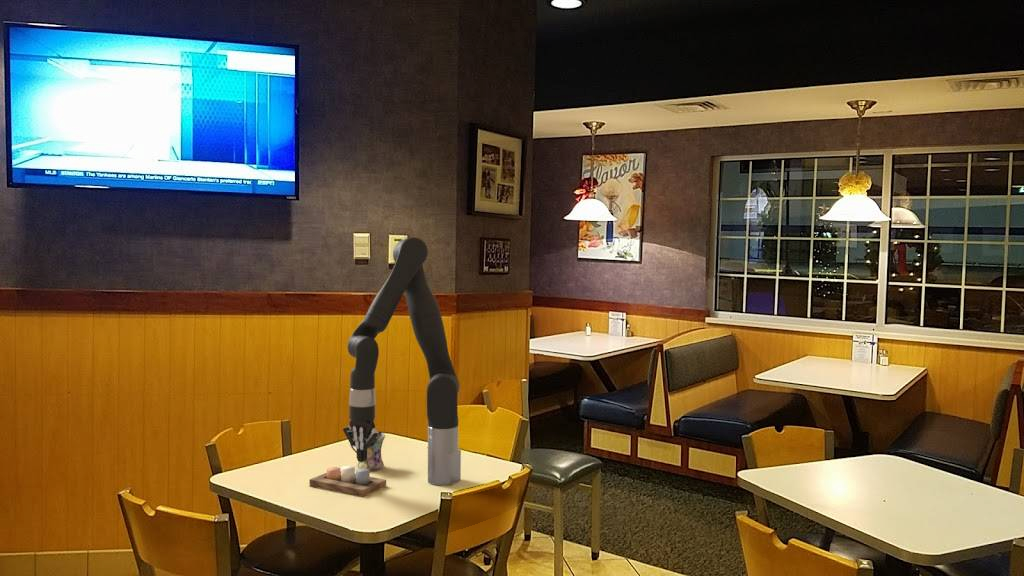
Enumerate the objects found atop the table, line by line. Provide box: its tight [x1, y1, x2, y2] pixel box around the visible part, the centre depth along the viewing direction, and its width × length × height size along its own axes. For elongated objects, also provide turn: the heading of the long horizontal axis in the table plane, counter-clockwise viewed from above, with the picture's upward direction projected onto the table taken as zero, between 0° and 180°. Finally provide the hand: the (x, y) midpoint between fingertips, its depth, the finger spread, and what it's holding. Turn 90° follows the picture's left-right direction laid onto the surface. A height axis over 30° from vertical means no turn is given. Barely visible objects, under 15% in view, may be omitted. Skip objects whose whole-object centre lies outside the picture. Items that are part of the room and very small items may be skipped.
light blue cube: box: [355, 468, 371, 486], centre depth 234 cm, size 4×4×4 cm
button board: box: [308, 470, 387, 498], centre depth 237 cm, size 20×11×2 cm, turn 62°
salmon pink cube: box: [326, 466, 341, 480], centre depth 239 cm, size 4×4×4 cm
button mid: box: [340, 465, 356, 483], centre depth 237 cm, size 4×4×4 cm
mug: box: [349, 432, 386, 471], centre depth 256 cm, size 12×9×11 cm
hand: (361, 461), depth 234 cm, fingers closed
